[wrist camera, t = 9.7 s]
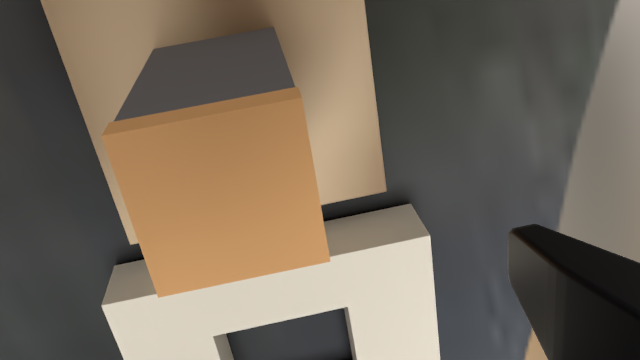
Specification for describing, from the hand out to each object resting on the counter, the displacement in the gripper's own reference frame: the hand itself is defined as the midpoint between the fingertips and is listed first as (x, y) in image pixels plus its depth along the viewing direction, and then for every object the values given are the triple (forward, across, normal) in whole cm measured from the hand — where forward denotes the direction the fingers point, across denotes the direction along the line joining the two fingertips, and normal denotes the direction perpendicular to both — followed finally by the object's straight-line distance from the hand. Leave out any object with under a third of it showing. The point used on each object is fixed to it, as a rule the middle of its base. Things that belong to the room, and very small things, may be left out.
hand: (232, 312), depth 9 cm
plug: (+12, 0, 0) cm, 12 cm away
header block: (+12, 0, +11) cm, 17 cm away
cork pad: (+12, 0, 0) cm, 12 cm away
